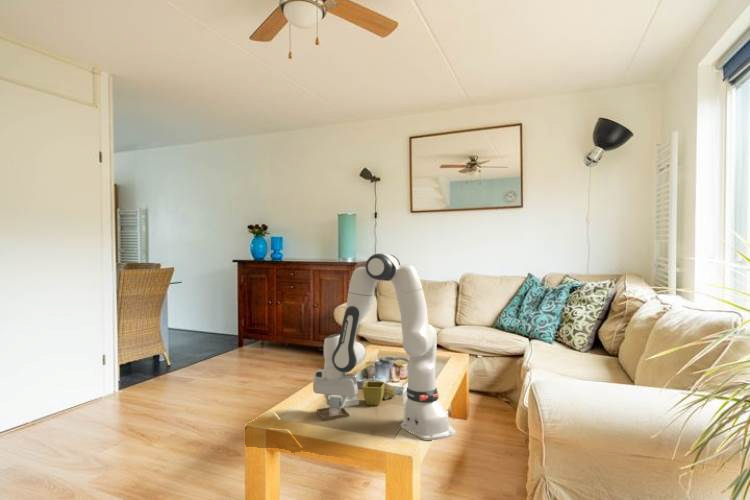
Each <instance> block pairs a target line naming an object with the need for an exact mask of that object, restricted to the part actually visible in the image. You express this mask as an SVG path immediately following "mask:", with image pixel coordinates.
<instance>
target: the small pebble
mask: <svg viewBox="0 0 750 500" xmlns="http://www.w3.org/2000/svg"><path fill="white" fill-rule="evenodd" d="M337 415H339V410H338V409H337V408H331V409H329V416H330V417H331V416H337Z"/></svg>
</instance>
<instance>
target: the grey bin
mask: <svg viewBox="0 0 750 500" xmlns="http://www.w3.org/2000/svg"><path fill="white" fill-rule="evenodd" d="M332 396H339V395H331V397H332ZM359 405H360V398H359V397H357V395H356V396H354V397H349V396H347V398H346V400H345V405H344V406H343V408H346V407H353V406H359Z"/></svg>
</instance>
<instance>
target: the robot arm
mask: <svg viewBox="0 0 750 500" xmlns="http://www.w3.org/2000/svg"><path fill="white" fill-rule="evenodd" d="M380 281H384V282H385V281H386V282H391V283H392V284H393V287H394V291H395V294H396V300H397V304H398V308H399V313H400V323H401V333H402V348H403V349H404V351H405V353H406V354H407V355H409V357H408V363H407V387H406V397H407V399H406V401H405V404H404V405H403V406H404V407H403V420H402V421H403V422H401V423H400V428H401V429H403V430H405V429H406V430H405V431H407V430H408V431H407V432H409V431H410V432H412V433H414V434H415V435H414V434H413V435H414V436H416V435H417V436H416V437H418V438H419V439H422V440H424V441H436V440H442V439H448V438H450V437H452V436H455V435H456V434H457V432H456V430H455V429H454V427H453V426H452V425H451V424H450V421H449V419H450V418H449V415H450V414H449V411H448V410H445V409H444V407H443V404H441V402H440V399H439V397H440V394H439V392H438V388H437V385H436V362H437V348H438V347H437V345H438V334H437V330H436V328H435V327H434V325H432V324H431V323H429V317H428V306H427V301H426V297H425V292H424V288H423V285H422V282H421V279H420V276H419V273H418V272H417V269H416V267H415V266H414V265H411V264H401V263H400V260H399V258H397V257H396V256H395V255H392V254H389V253H386V252H385V253H383V252H381V253H374V254H372V255H371V256H369V258H368V259H367V260H366V262H365V266H359V267H357V268H355V269H354V270H353V272H352V274H351V278H350V281H349V286H348V291H347V292H348V293H347V300H346V307H345V312H344V316H343V320H342V324H341V329H340V333H335V334H331V335H328V336H326V337H325V338H324V342H323V358H324V364H323V368H320V369H317V370H316V371H315V372H313V376H314V378H313V382H312V391H313V392H314V393H315V394H318V395H319V394H320V395H323V396H324V398H325V400H326V402H327V403H326V405H328V406H329V399H330V398H331V397H330V395H331V396H332V395H339V396H342V398H343V399H342V401H340V406H344V405H345V400H346V398H347V396H349V397H354V396H356V397H357V395H358V394H359V390H358V389H359V388H358V378H357V376H356V374H354V373H350V372H351V371H352V370H354V368H355V367H357V366H359V364H361V363H362V362H364V360H365V358H366V355H367V351H366V348H365V346H364V345H363V344H362V343H361V342H359V341H356V337H357V333H358V332H357V331H358V328H359V325H360V323H361V322H362V321H363V319H364V318H365V317H366V316H367V314H369V313H370V311H371V310H372V306H373V304H374V299H375V291H376V286H377V284H378V282H380ZM410 432H409V433H410ZM412 433H411V434H412Z"/></svg>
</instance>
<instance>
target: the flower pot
mask: <svg viewBox="0 0 750 500" xmlns="http://www.w3.org/2000/svg"><path fill="white" fill-rule="evenodd" d="M385 386H386V382H385V381H371V380H370V381H365V383H364V384H363V385H362V391H363V399H364V401H365V403H366V405H367V406H380V405H381V402H382V401H383V400H382V398H383V395H384V387H385Z"/></svg>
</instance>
